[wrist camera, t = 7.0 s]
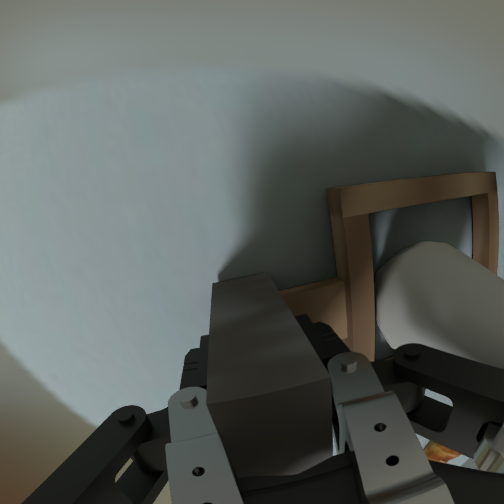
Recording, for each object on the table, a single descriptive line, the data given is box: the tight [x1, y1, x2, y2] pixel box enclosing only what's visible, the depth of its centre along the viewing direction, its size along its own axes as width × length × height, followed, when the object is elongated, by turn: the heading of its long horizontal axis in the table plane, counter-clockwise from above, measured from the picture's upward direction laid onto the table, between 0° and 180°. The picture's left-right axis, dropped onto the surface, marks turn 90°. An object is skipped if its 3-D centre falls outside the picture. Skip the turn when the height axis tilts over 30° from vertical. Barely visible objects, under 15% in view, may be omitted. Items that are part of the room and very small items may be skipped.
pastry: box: [424, 440, 461, 463], centre depth 17 cm, size 9×7×4 cm
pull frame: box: [206, 172, 499, 478], centre depth 10 cm, size 17×11×8 cm, turn 100°
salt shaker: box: [374, 241, 504, 369], centre depth 8 cm, size 6×6×13 cm
